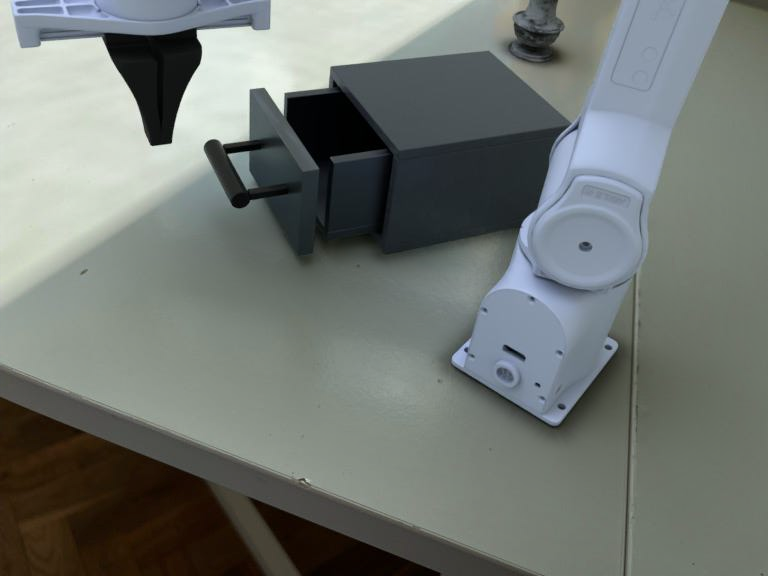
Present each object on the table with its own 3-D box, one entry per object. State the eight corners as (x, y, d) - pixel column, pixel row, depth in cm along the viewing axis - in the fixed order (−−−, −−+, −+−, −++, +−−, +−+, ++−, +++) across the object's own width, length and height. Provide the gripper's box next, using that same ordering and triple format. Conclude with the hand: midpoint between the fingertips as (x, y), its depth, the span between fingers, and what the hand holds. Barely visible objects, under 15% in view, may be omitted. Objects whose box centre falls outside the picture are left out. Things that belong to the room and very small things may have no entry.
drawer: (241, 268, 55) (240, 180, 50) (197, 178, 62) (193, 94, 57) (460, 225, 61) (478, 144, 57) (397, 148, 69) (409, 71, 64)
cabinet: (384, 254, 59) (399, 150, 53) (322, 164, 67) (330, 65, 61) (543, 221, 65) (574, 124, 59) (469, 142, 73) (489, 50, 67)
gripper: (246, -104, 48) (246, 96, 57) (-13, -102, 43) (32, 119, 52) (285, -64, 44) (278, 147, 53) (1, -56, 38) (47, 178, 47)
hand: (158, 137), depth 52 cm, fingers closed
